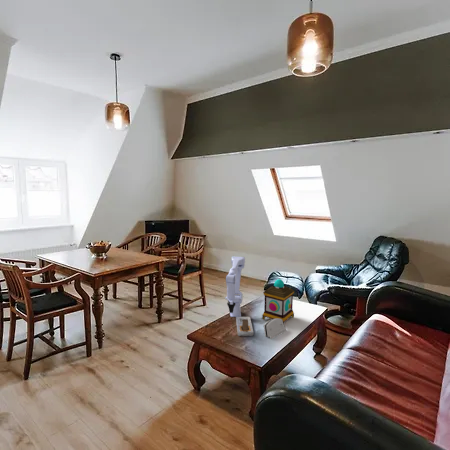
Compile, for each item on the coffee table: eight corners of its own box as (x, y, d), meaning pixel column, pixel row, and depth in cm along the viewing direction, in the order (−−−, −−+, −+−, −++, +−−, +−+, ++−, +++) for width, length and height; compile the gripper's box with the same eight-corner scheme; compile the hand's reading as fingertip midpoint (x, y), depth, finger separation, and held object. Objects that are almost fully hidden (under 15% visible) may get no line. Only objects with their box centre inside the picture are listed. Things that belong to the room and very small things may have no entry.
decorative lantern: (284, 327, 204) (285, 286, 200) (259, 319, 216) (260, 280, 212) (296, 317, 220) (298, 278, 216) (272, 310, 232) (273, 273, 227)
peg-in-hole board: (236, 320, 216) (236, 316, 215) (249, 319, 216) (249, 316, 215) (238, 335, 194) (238, 332, 193) (253, 335, 194) (253, 331, 194)
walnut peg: (242, 330, 201) (242, 319, 199) (247, 330, 201) (247, 319, 199) (242, 333, 197) (242, 321, 196) (248, 333, 197) (248, 321, 196)
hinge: (270, 339, 189) (267, 323, 191) (265, 338, 193) (261, 323, 194) (287, 330, 200) (283, 315, 201) (281, 330, 204) (278, 315, 205)
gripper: (225, 287, 213) (225, 305, 215) (225, 295, 199) (225, 314, 201) (234, 287, 213) (234, 305, 215) (236, 295, 199) (235, 314, 201)
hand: (230, 310), depth 208 cm, fingers open, 7 cm apart
